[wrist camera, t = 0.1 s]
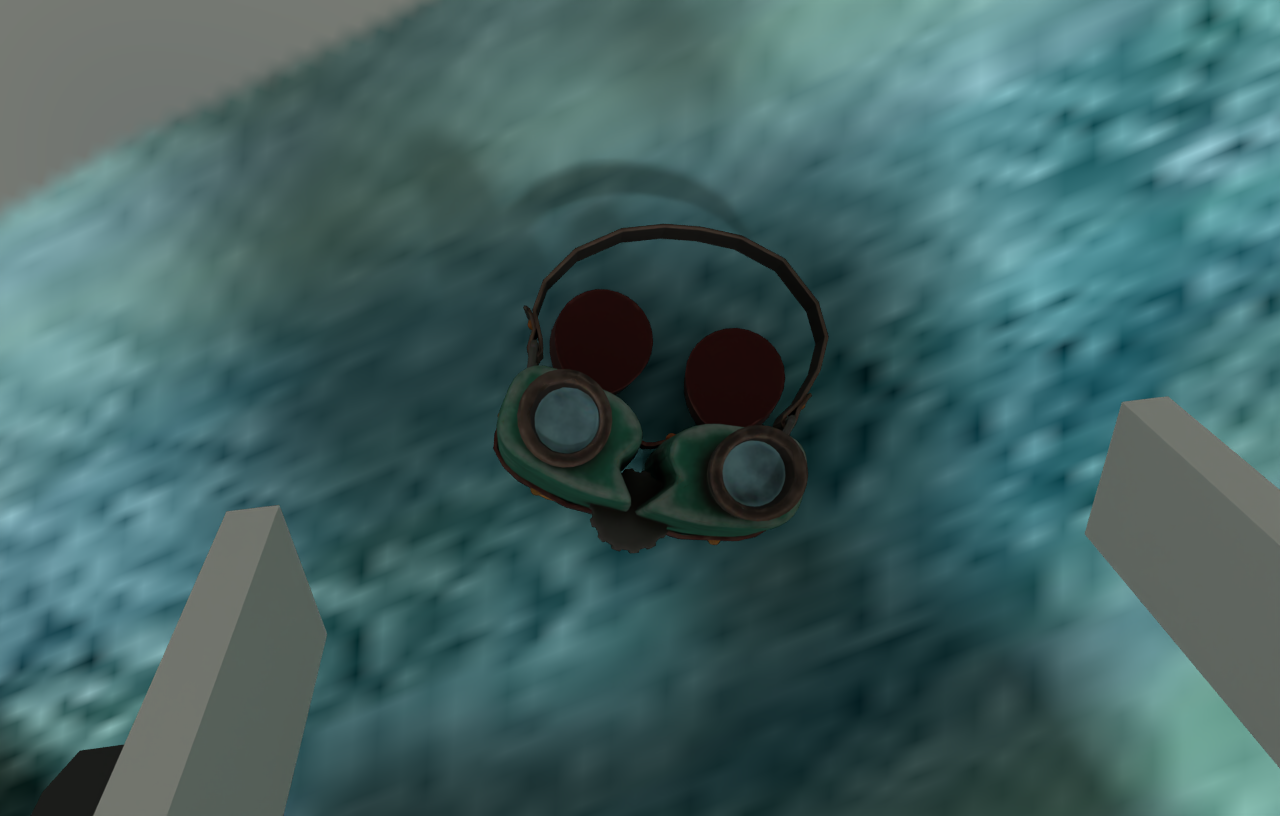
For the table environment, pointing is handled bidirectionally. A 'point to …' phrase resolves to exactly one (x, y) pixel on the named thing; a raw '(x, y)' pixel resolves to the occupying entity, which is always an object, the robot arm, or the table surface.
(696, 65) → the table surface
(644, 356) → the binoculars
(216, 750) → the robot arm
